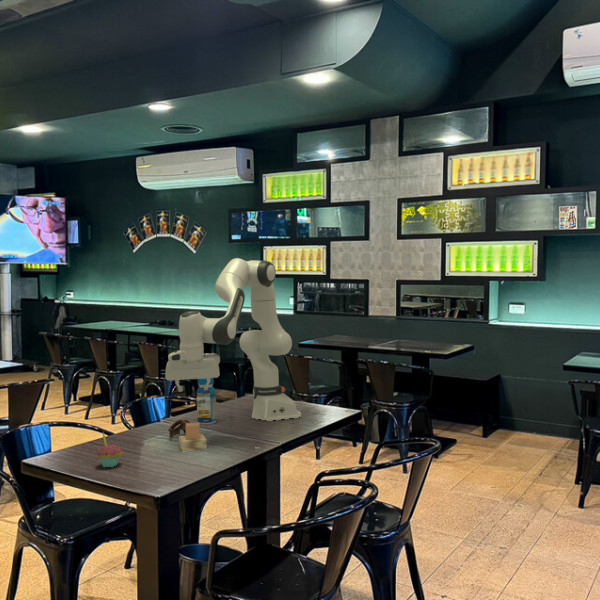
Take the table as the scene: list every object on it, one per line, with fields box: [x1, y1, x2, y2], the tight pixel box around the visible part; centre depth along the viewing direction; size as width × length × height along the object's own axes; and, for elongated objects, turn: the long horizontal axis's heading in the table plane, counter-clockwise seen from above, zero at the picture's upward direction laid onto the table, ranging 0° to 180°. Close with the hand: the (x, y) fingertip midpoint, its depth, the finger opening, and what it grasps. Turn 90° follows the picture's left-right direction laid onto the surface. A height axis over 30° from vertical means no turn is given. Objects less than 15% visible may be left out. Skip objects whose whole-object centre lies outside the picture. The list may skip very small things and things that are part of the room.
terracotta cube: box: [185, 422, 201, 440], centre depth 236 cm, size 5×5×5 cm
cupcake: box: [96, 432, 124, 468], centre depth 215 cm, size 9×8×12 cm
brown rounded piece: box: [168, 419, 190, 439], centre depth 251 cm, size 12×10×8 cm
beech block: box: [178, 433, 208, 452], centre depth 236 cm, size 9×9×4 cm
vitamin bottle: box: [196, 378, 217, 425], centre depth 274 cm, size 8×8×20 cm
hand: (193, 390), depth 237 cm, fingers open, 8 cm apart
